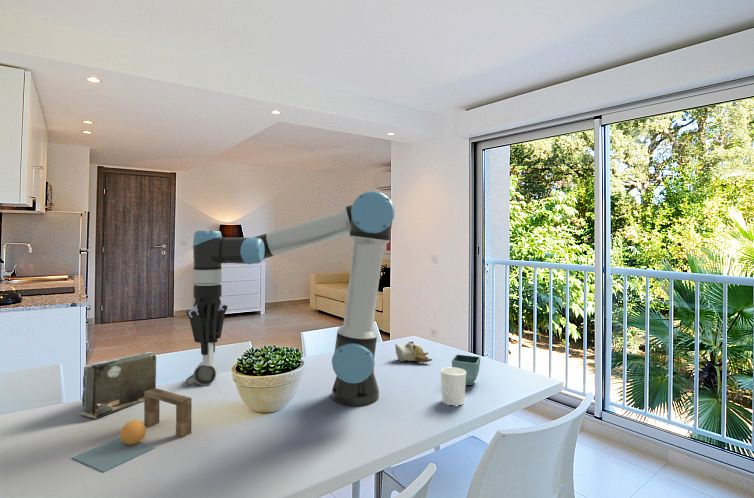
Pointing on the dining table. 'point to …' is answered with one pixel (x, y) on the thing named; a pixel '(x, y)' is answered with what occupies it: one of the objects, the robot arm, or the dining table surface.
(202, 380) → the ceramic mug
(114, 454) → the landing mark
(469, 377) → the flower pot
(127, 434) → the ball
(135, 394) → the radio
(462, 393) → the white cup
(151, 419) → the bridge
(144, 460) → the dining table surface
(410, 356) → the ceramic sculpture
